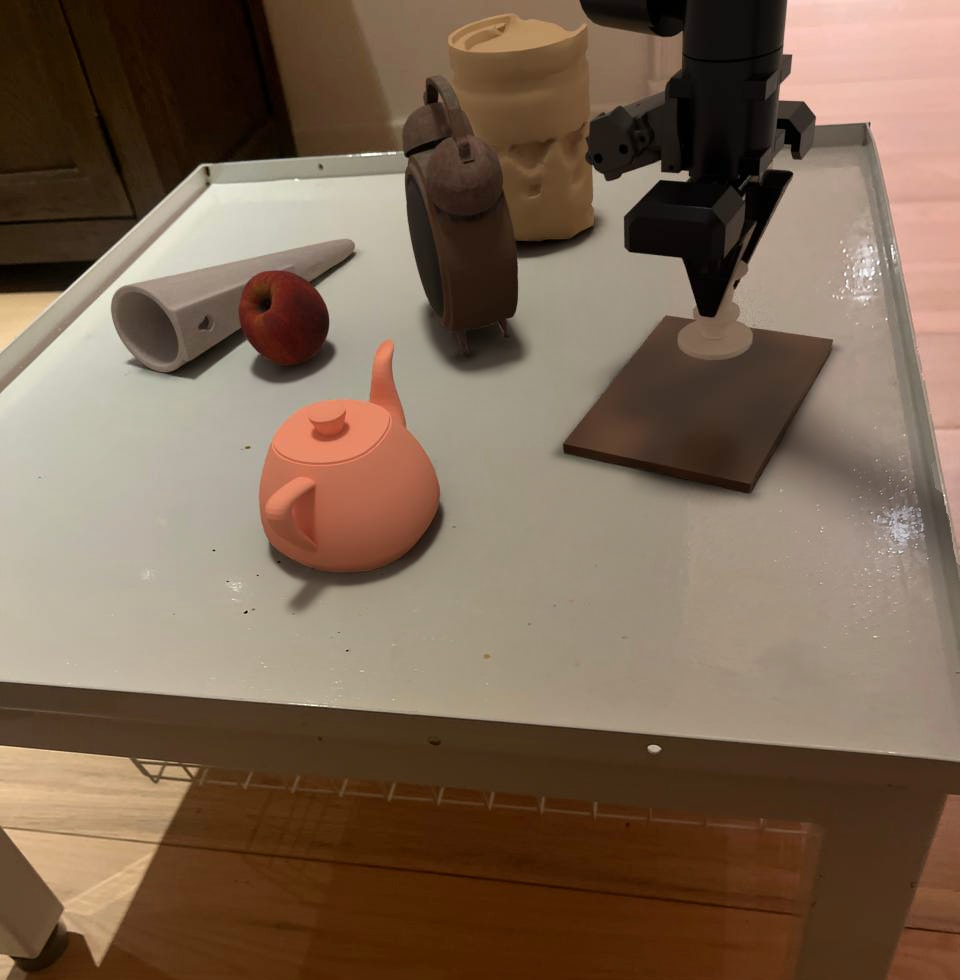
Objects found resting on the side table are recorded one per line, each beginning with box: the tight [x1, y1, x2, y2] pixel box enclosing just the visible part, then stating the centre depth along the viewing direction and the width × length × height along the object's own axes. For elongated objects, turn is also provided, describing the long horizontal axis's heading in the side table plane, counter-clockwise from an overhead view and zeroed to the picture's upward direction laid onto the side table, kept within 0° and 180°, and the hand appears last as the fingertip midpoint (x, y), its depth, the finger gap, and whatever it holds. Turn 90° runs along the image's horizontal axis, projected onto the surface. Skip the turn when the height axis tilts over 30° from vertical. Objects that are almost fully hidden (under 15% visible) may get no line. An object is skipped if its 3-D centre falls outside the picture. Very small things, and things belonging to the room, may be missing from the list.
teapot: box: [258, 339, 441, 573], centre depth 65 cm, size 12×18×10 cm
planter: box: [110, 238, 356, 373], centre depth 93 cm, size 8×9×26 cm
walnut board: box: [562, 314, 834, 494], centre depth 73 cm, size 14×20×1 cm
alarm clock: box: [401, 74, 519, 357], centre depth 78 cm, size 15×7×20 cm, turn 15°
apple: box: [239, 270, 330, 366], centre depth 83 cm, size 7×8×8 cm
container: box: [447, 12, 595, 242], centre depth 92 cm, size 13×13×18 cm
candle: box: [677, 260, 753, 360], centre depth 65 cm, size 5×5×10 cm
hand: (718, 302), depth 66 cm, fingers closed on candle, 4 cm apart
